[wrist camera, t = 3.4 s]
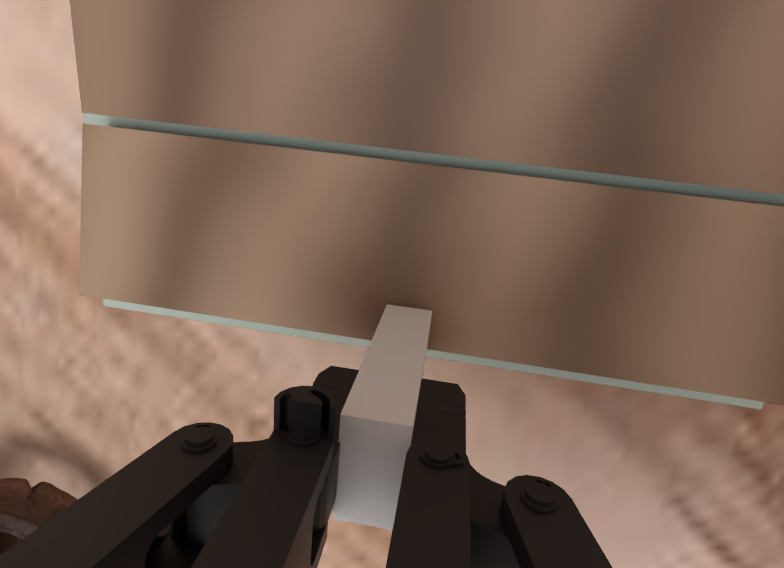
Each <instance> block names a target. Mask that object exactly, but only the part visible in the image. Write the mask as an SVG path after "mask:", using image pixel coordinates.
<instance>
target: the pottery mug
mask: <svg viewBox="0 0 784 568" xmlns="http://www.w3.org/2000/svg"><path fill="white" fill-rule="evenodd" d="M76 501H77V499H76V498H74V497H73V496H71V495H70V494H68V493H66V492H64V491H62V490H60V489H58V488H56V487H55V486H54V485H52V484H50V483H47V482H40V483H38V484H37V485H36V486H34V487H32V488H31V486H30V484H29V482H28V481H27V480H26V479H21V478H6V479H0V531H1V532H5V533H8V534H12V535H13V536H15V537H17V538H19V539H21V540H22V539H23V538H25V537H26V536H28V535H29V534H31V533H32V532H33V531H35V530H36V529H38V528H39V527H40V526H42V525H43V524H45V523H46V522H47V521H49V520H50V519H52V518H53V517H55V516H56V515H57V514H59V513H60V512H62V511H63V510H64V509H66V508H67V507H69V506H70V505H72V504H73V503H74V502H76Z"/></svg>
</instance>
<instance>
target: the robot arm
mask: <svg viewBox="0 0 784 568" xmlns="http://www.w3.org/2000/svg"><path fill="white" fill-rule="evenodd" d="M431 316H432V311H431V310H423V309H416V308H409V307H402V306H395V305H388V304H387V305H386V308H385V310H384V312H383V315H382V317H381V320H380V322H379V324H378V327H377V329H376V331H375V334H374V336H373V339H372V341H371V343H370V346H369V348H368V350H367V353H366V355H365V358H364V360H363V362H362V365H361V367H360V369H359V370H354V369H348V368H341V367H335V366H330V367H329V368H327V369H326V370H324V371H322V372H321V373H319V374H318V376H317V378H316V380H315V381H314V383H313V386H298V387H291V388H288V389H286V390H284V391H281V392H280V393H279V394H278V395H277V396H276V397H274V431H273V433H272V434H271V436H270V438H269V439H265V440H261V441H252V442H233V435H232V433H231V431H230V430H229V429H228V428H226V427H224V426H223V425H220V424H215V423H196V424H192V425H188V426H184V427H182V428H181V429H179V430H177V431H175V432H173V433H172V434H170V435H169V436H168V437H166V438H165V439H163V440H162V441H160V442H159V443H158V444H156V445H155V446H153V447H152V448H151V449H149V450H148V451H146V452H145V453H144V454H142V455H141V456H139V457H138V458H136V459H135V460H134V461H132V462H131V463H129V464H128V465H127V466H125V467H124V468H122V469H121V470H120V471H118V472H117V473H115V474H114V475H112V476H111V477H110V478H108V479H107V480H105V481H104V482H103V483H101V484H100V485H98V486H97V487H96V488H94V489H93V490H91V491H90V492H88V493H87V494H86V495H84V496H83V497H81V498H80V499H79V500H77V501H76V502H74V503H73V504H72V505H70V506H69V507H67V508H66V509H64V510H63V511H62V512H60V513H59V514H57V515H56V516H55V517H53V518H52V519H50V520H49V521H47V522H46V523H45V524H43V525H42V526H40V527H39V528H38V529H36V530H35V531H33V532H32V533H31V534H29V535H28V536H26V537H25V538H23V539H22V540H21V541H19V542H18V543H16V544H15V545H14V546H12V547H11V548H9V549H8V550H7V551H5V552H4V553H2V554H1V555H0V568H317V566H318V563H319V560H320V557H321V554H322V551H323V548H324V544H325V541H326V538H327V526H328V519H329V516H330V513H331V510H332V507H333V504H334V507H333V519H336V520H341V521H346V522H352V523H357V524H362V525H369V526H374V527H379V528H385V529H390V530H393V531H392V536H391V542H390V548H389V553H388V559H387V564H386V568H612V566H611V565H610V563H609V561H608V559H607V558H606V556H605V554H604V553H603V551H602V549H601V548H600V546H599V544H598V543H597V541H596V539H595V538H594V536H593V534H592V532H591V531H590V529H589V527H588V526H587V524H586V522H585V521H584V519H583V517H582V516H581V514H580V512H579V511H578V509H577V507H576V505H575V504H574V502H573V500H572V499H571V498H570V496H569V495H568V494H567V493H566V492H565V491H564V490H563V489H562V488H560V487H559V486H558V485H556V484H555V483H553V482H551V481H549V480H546V479H544V478H541V477H536V476H529V475H524V476H517V477H514V478H513V479H511V480H509V481H508V482H507V484H506V486H503V485H501V484H498V483H496V482H493V481H491V480H489V479H487V478H485V477H484V476H482V475H481V474H479V473H478V472H477V471H476V470H475V469H474V468H473V467H472V466H471V465H470V463H469V460H468V457H467V455H466V418H465V416H466V409H465V407H466V400H465V394H464V392H463V391H462V390H461V388H460V387H459V385H458V384H453V383H447V382H440V381H434V380H428V379H423V376H424V368H425V361H426V353H427V346H428V339H429V331H430V324H431Z"/></svg>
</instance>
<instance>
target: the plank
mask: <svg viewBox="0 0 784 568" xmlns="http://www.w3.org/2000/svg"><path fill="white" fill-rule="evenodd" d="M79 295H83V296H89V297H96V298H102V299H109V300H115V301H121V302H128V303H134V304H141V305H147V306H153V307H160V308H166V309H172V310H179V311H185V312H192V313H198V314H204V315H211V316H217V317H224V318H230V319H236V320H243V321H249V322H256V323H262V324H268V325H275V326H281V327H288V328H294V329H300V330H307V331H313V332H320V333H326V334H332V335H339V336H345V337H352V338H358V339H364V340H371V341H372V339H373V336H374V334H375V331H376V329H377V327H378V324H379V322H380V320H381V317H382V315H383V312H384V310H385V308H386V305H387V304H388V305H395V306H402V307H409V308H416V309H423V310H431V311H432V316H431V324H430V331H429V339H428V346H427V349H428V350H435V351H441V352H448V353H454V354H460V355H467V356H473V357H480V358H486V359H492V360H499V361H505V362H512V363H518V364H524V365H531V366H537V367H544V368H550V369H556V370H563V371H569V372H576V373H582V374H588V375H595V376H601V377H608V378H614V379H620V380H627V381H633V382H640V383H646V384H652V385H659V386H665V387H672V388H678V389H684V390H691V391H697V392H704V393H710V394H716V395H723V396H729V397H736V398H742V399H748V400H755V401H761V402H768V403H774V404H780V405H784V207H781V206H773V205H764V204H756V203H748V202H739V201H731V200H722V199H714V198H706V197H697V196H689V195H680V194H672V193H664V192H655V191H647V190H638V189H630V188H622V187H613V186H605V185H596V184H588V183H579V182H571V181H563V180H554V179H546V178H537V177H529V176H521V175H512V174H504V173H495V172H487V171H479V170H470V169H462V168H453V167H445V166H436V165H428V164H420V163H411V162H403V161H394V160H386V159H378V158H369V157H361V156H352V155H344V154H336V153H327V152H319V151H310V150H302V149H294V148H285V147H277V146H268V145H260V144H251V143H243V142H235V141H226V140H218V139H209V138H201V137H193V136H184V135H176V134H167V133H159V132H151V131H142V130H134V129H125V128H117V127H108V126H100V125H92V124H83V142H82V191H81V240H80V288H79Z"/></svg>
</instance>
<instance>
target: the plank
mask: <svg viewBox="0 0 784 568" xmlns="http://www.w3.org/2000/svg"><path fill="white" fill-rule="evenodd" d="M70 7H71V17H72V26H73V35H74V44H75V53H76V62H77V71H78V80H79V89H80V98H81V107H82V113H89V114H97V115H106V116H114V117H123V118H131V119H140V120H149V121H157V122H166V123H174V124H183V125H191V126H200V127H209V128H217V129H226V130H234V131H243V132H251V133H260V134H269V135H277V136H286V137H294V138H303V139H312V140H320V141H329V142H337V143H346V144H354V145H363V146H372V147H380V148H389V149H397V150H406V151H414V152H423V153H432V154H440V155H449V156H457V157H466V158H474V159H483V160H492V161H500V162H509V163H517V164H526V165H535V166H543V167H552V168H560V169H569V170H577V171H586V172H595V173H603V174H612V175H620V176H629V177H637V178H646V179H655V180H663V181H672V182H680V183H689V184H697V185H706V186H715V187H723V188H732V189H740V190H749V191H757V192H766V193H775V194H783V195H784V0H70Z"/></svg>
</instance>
